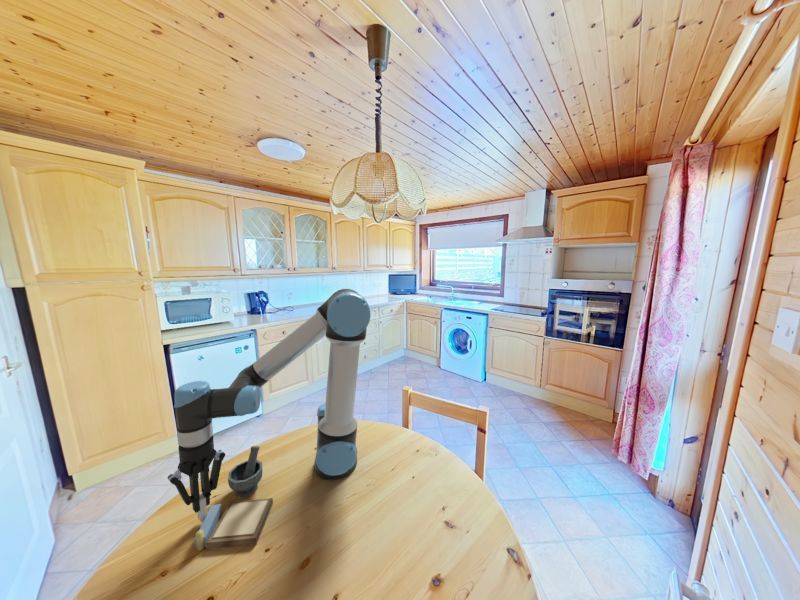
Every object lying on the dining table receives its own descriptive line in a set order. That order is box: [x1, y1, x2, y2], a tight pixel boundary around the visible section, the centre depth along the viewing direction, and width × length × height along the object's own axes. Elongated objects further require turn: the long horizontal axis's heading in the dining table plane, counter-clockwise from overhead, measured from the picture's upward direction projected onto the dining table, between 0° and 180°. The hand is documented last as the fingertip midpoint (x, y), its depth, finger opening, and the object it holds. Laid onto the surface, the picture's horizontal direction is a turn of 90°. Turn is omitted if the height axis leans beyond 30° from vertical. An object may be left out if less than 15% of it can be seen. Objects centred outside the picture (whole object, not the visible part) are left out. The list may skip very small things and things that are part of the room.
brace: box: [193, 503, 223, 552], centre depth 73 cm, size 11×2×4 cm, turn 14°
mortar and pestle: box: [227, 445, 263, 499], centre depth 87 cm, size 11×9×12 cm
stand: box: [206, 497, 274, 551], centre depth 75 cm, size 12×12×2 cm
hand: (202, 518), depth 75 cm, fingers closed
